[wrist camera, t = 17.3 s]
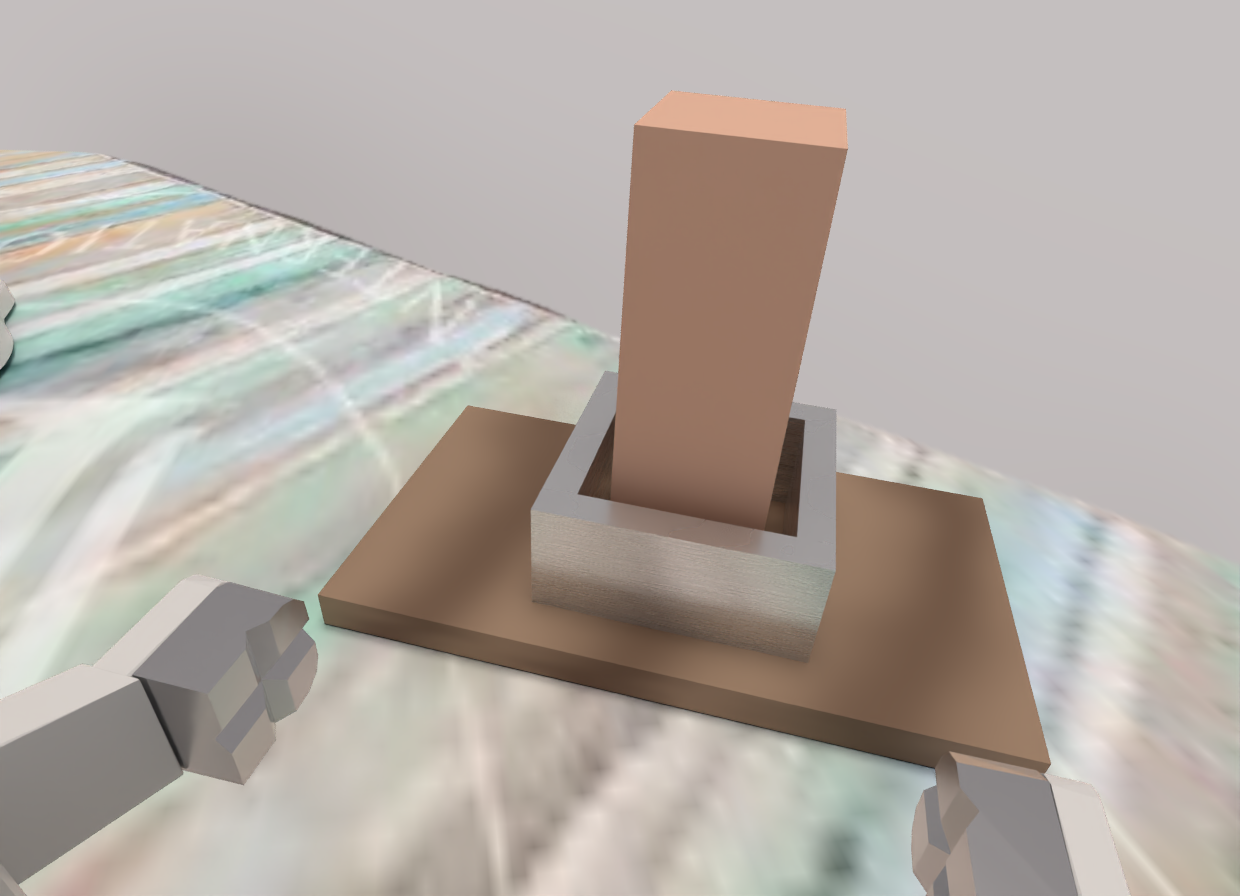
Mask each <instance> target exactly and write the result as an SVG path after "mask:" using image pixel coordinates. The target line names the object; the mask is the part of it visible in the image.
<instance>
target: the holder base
mask: <svg viewBox="0 0 1240 896" xmlns="http://www.w3.org/2000/svg"><path fill="white" fill-rule="evenodd" d="M575 426H576V425H573V424H567V423H562V422H556V421H551V420H545V419H540V418H534V417H529V416H523V415H518V414H512V413H507V412H501V411H495V410H490V409H484V408H479V407H473V406H467V407H466V408H465V410H464V411H463V412H462V413H461V415H460V416H459V417H458V418H457V420H456V421H455V422H454V423H453V425H452V426H451V427H450V429H449V430H448V431H447V432H446V434H445V435H444V436H443V437H442V439H441V440H440V441H439V442H438V444H437V445H436V446H435V447H434V449H433V450H432V451H431V453H430V454H429V455H428V456H427V458H426V459H425V460H424V461H423V463H422V464H421V465H420V466H419V468H418V469H417V470H416V471H415V473H414V474H413V475H412V476H411V478H410V479H409V480H408V482H407V483H406V484H405V485H404V487H403V488H402V489H401V490H400V492H399V493H398V494H397V495H396V497H395V498H394V499H393V500H392V502H391V503H390V504H389V506H388V507H387V508H386V509H385V511H384V512H383V513H382V514H381V516H380V517H379V518H378V519H377V521H376V522H375V523H374V524H373V526H372V527H371V528H370V530H369V531H368V532H367V533H366V535H365V536H364V537H363V538H362V540H361V541H360V542H359V543H358V545H357V546H356V547H355V548H354V550H353V551H352V552H351V554H350V555H349V556H348V557H347V559H346V560H345V561H344V562H343V564H342V565H341V566H340V567H339V569H338V570H337V571H336V572H335V574H334V575H333V576H332V577H331V579H330V580H329V581H328V583H327V584H326V585H325V586H324V588H323V589H322V590H321V591H320V593H319V594H318V598H319V602H320V606H321V610H322V615H323V619H324V623H325V624H329V625H334V626H338V627H342V628H346V629H351V630H355V631H359V632H363V633H367V634H372V635H376V636H380V637H384V638H389V639H393V640H397V641H401V642H405V643H410V644H414V645H418V646H422V647H426V648H431V649H435V650H439V651H443V652H448V653H452V654H456V655H460V656H464V657H469V658H473V659H477V660H481V661H485V662H490V663H494V664H498V665H502V666H507V667H511V668H515V669H519V670H523V671H528V672H532V673H536V674H540V675H545V676H549V677H553V678H557V679H561V680H566V681H570V682H574V683H578V684H582V685H587V686H591V687H595V688H599V689H604V690H608V691H612V692H616V693H620V694H625V695H629V696H633V697H637V698H641V699H646V700H650V701H654V702H658V703H663V704H667V705H671V706H675V707H679V708H684V709H688V710H692V711H696V712H701V713H705V714H709V715H713V716H717V717H722V718H726V719H730V720H734V721H738V722H743V723H747V724H751V725H755V726H760V727H764V728H768V729H772V730H776V731H781V732H785V733H789V734H793V735H797V736H802V737H806V738H810V739H814V740H819V741H823V742H827V743H831V744H835V745H840V746H844V747H848V748H852V749H856V750H861V751H865V752H869V753H873V754H878V755H882V756H886V757H890V758H894V759H899V760H903V761H907V762H911V763H916V764H920V765H924V766H928V767H932V768H935V767H936V765H937V764H938V762H939V760H940V758H941V756H942V755H943V754H945V753H947V752H948V751H951V752H955V753H960V754H964V755H969V756H973V757H978V758H983V759H987V760H992V761H996V762H1001V763H1005V764H1010V765H1014V766H1019V767H1023V768H1028V769H1033V770H1037V771H1038V772H1039V773H1044V774H1045V773H1046V771H1047V770H1048V768H1049V766H1050V765H1051V762H1050V758H1049V754H1048V751H1047V747H1046V743H1045V739H1044V735H1043V731H1042V727H1041V723H1040V720H1039V716H1038V712H1037V708H1036V704H1035V700H1034V696H1033V692H1032V689H1031V685H1030V681H1029V677H1028V673H1027V669H1026V665H1025V661H1024V658H1023V654H1022V650H1021V646H1020V642H1019V638H1018V634H1017V630H1016V627H1015V623H1014V619H1013V615H1012V611H1011V607H1010V603H1009V599H1008V596H1007V592H1006V588H1005V584H1004V580H1003V576H1002V572H1001V568H1000V565H999V561H998V557H997V553H996V549H995V545H994V541H993V537H992V534H991V530H990V526H989V522H988V518H987V514H986V510H985V506H984V503H983V499H982V498H977V497H972V496H966V495H961V494H955V493H949V492H944V491H938V490H933V489H927V488H922V487H916V486H911V485H905V484H900V483H894V482H889V481H883V480H877V479H872V478H866V477H861V476H855V475H850V474H844V473H839V472H836V572H835V575H834V578H833V582H832V585H831V588H830V592H829V595H828V598H827V601H826V605H825V608H824V611H823V615H822V618H821V621H820V625H819V628H818V631H817V635H816V638H815V641H814V644H813V648H812V651H811V654H810V658H809V661H808V663H806V662H801V661H797V660H792V659H788V658H783V657H778V656H774V655H769V654H765V653H760V652H756V651H751V650H747V649H742V648H738V647H733V646H729V645H724V644H720V643H715V642H711V641H706V640H702V639H697V638H693V637H688V636H684V635H679V634H675V633H670V632H666V631H661V630H657V629H652V628H648V627H643V626H639V625H634V624H630V623H625V622H621V621H616V620H611V619H607V618H602V617H598V616H593V615H589V614H584V613H580V612H575V611H571V610H566V609H562V608H557V607H553V606H548V605H544V604H539V603H535V602H532V567H531V508H532V506H533V504H534V502H535V501H536V499H537V497H538V495H539V493H540V491H541V489H542V488H543V486H544V484H545V482H546V480H547V478H548V476H549V475H550V473H551V471H552V469H553V467H554V465H555V463H556V462H557V460H558V458H559V456H560V454H561V452H562V450H563V449H564V447H565V445H566V443H567V441H568V439H569V437H570V436H571V434H572V432H573V430H574V428H575ZM609 501H610V499H609ZM785 504H786V503H781V502H776V501H771V502H770V506H769V511H768V515H767V520H766V524H765V529H764V531H767V532H773V533H778V534H783V526H784V515H785Z"/></svg>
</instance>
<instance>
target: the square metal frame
mask: <svg viewBox="0 0 1240 896" xmlns="http://www.w3.org/2000/svg"><path fill="white" fill-rule="evenodd" d="M617 387H618V373H615V372H609V371H605V372H604V374H603V376H602V378H601V380H600V382H599V383H598V385H597V387H596V389H595V391H594V393H593V395H592V396H591V398H590V400H589V402H588V404H587V406H586V408H585V409H584V411H583V413H582V415H581V417H580V419H579V421H578V422H577V424H576V426H575V428H574V430H573V432H572V434H571V436H570V437H569V439H568V441H567V443H566V445H565V447H564V449H563V450H562V452H561V454H560V456H559V458H558V460H557V462H556V463H555V465H554V467H553V469H552V471H551V473H550V475H549V476H548V478H547V480H546V482H545V484H544V486H543V488H542V489H541V491H540V493H539V495H538V497H537V499H536V501H535V502H534V504H533V506H532V508H531V567H532V602H535V603H539V604H544V605H548V606H553V607H557V608H562V609H566V610H571V611H575V612H580V613H584V614H589V615H593V616H598V617H602V618H607V619H611V620H616V621H621V622H625V623H630V624H634V625H639V626H643V627H648V628H652V629H657V630H661V631H666V632H670V633H675V634H679V635H684V636H688V637H693V638H697V639H702V640H706V641H711V642H715V643H720V644H724V645H729V646H733V647H738V648H742V649H747V650H751V651H756V652H760V653H765V654H769V655H774V656H778V657H783V658H788V659H792V660H797V661H801V662H806V663H808V661H809V658H810V654H811V651H812V648H813V644H814V641H815V638H816V635H817V631H818V628H819V625H820V621H821V618H822V615H823V611H824V608H825V605H826V601H827V598H828V595H829V592H830V588H831V585H832V582H833V578H834V575H835V572H836V410H835V409H829V408H823V407H817V406H811V405H806V404H800V403H794V402H792V406H791V410H790V415H789V419H788V424H787V429H786V433H785V438H784V442H783V447H782V451H781V456H780V461H779V465H778V470H777V474H776V479H775V483H774V488H773V493H772V497H771V501H776V502H781V503H786V504H785V515H784V526H783V534H778V533H773V532H767V531H762V530H757V529H752V528H747V527H742V526H737V525H732V524H727V523H721V522H716V521H711V520H706V519H701V518H696V517H691V516H686V515H681V514H676V513H670V512H665V511H660V510H655V509H650V508H645V507H640V506H635V505H630V504H624V503H619V502H614V501H609V499H610V496H611V481H612V465H613V449H614V434H615V418H616V402H617Z"/></svg>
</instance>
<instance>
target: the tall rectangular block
mask: <svg viewBox="0 0 1240 896" xmlns="http://www.w3.org/2000/svg"><path fill="white" fill-rule="evenodd" d="M847 150H848V144H847V123H846V109H841V108H832V107H823V106H812V105H803V104H794V103H784V102H775V101H765V100H756V99H746V98H736V97H727V96H718V95H708V94H698V93H689V92H680V91H670V92H669V93H668V94H667V95H666V96H665V97H664V98H663V99H662V100H661V101H660V102H658V103H657V104H656V105H655V106H654V107H653V108H652V109H651V110H650V111H649V112H648V113H647V114H645V115H644V116H643V117H642V118H641V119H640V120H639V121H638V122H637V123H636V124H635V125H634V138H633V153H632V168H631V183H630V184H631V185H630V199H629V214H628V230H627V246H626V262H625V277H624V278H625V279H624V293H623V308H622V325H621V340H620V355H619V371H618V387H617V402H616V418H615V434H614V449H613V465H612V481H611V496H610V501H614V502H619V503H624V504H630V505H635V506H640V507H645V508H650V509H655V510H660V511H665V512H670V513H676V514H681V515H686V516H691V517H696V518H701V519H706V520H711V521H716V522H721V523H727V524H732V525H737V526H742V527H747V528H752V529H757V530H762V531H764V529H765V524H766V520H767V515H768V511H769V506H770V502H771V497H772V493H773V488H774V483H775V479H776V474H777V470H778V465H779V461H780V456H781V451H782V447H783V442H784V438H785V433H786V429H787V424H788V419H789V415H790V410H791V406H792V401H793V397H794V392H795V387H796V383H797V378H798V374H799V369H800V365H801V360H802V355H803V351H804V346H805V342H806V337H807V332H808V328H809V323H810V319H811V314H812V310H813V305H814V301H815V296H816V291H817V287H818V282H819V277H820V273H821V269H822V264H823V259H824V255H825V250H826V246H827V241H828V237H829V232H830V228H831V223H832V218H833V214H834V209H835V205H836V200H837V195H838V191H839V186H840V182H841V177H842V173H843V168H844V163H845V159H846V154H847Z"/></svg>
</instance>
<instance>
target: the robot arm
mask: <svg viewBox="0 0 1240 896" xmlns="http://www.w3.org/2000/svg"><path fill="white" fill-rule="evenodd" d="M14 302H15V299H14V297H13V295H12V294H11V292H10V290H9V288H8V287H7V285H6V283H5V282H4V281H2V280H0V369H1V368H2V367H3V366H4V365H5V363H6V362H7V360H8V359H9V357H10V355H11V353H12V349H13V338H12V335H11V333H10V332H9V330H8V329H7V327H6V325H5V322H4V318H5V317H6V316H7V314H8V313H9V311H10V310H11V308H12V307H13V305H14ZM308 620H309V617H308V613H307V610H306V607H305V604H304V601H300V600H296V599H292V598H289V597H285V596H281V595H277V594H273V593H269V592H266V591H262V590H258V589H254V588H250V587H246V586H243V585H239V584H235V583H232V582H228V581H223V580H219V579H215V578H211V577H207V576H203V575H199V574H194V575H192V576H190V577H187V578H185V579H183V580H181V581H180V582H179V583H178V584H177V585H176V586H175V587H174V588H173V589H172V590H171V591H170V592H168V593H167V594H166V595H165V596H164V597H163V598H162V599H161V600H160V601H159V602H158V603H157V604H156V605H155V606H154V607H153V608H152V609H151V610H150V611H149V612H148V613H147V614H146V615H145V616H144V617H143V618H142V619H141V620H139V621H138V622H137V623H136V624H135V625H134V626H133V627H132V628H131V629H130V630H129V631H128V632H127V633H126V634H125V635H124V636H123V637H122V638H121V639H120V640H119V641H118V642H117V643H116V644H115V645H114V646H113V647H112V648H110V649H109V650H108V651H107V652H106V653H105V654H104V655H103V656H102V657H101V658H100V659H99V660H98V661H97V662H96V663H95V664H94V665H93V666H90V665H85V664H80V665H78V666H76V667H73V668H71V669H69V670H67V671H64V672H62V673H60V674H57V675H55V676H53V677H51V678H48V679H46V680H44V681H41V682H39V683H37V684H35V685H32V686H30V687H28V688H25V689H23V690H21V691H19V692H16V693H14V694H12V695H9V696H7V697H5V698H3V699H0V896H27V895H26V894H25V893H24V892H23V890H22V889H21V888H20V887H19V884H20V883H22V882H23V881H25V880H26V879H28V878H29V877H31V876H32V875H34V874H35V873H37V872H38V871H40V870H41V869H43V868H44V867H46V866H47V865H49V864H50V863H52V862H53V861H55V860H56V859H58V858H59V857H61V856H62V855H64V854H65V853H67V852H68V851H70V850H71V849H73V848H74V847H76V846H77V845H79V844H80V843H82V842H83V841H85V840H86V839H88V838H89V837H90V836H92V835H93V834H95V833H96V832H98V831H99V830H101V829H102V828H104V827H105V826H107V825H108V824H110V823H111V822H113V821H114V820H116V819H117V818H119V817H120V816H122V815H123V814H125V813H126V812H128V811H129V810H131V809H132V808H134V807H135V806H137V805H138V804H140V803H141V802H143V801H144V800H146V799H147V798H149V797H150V796H152V795H153V794H155V793H156V792H158V791H159V790H161V789H162V788H164V787H165V786H167V785H168V784H170V783H171V782H173V781H174V780H176V779H177V778H179V777H180V776H182V775H183V771H182V770H185V771H189V772H193V773H197V774H201V775H205V776H209V777H213V778H217V779H221V780H225V781H229V782H233V783H237V784H241V785H244V784H245V783H246V781H247V780H248V779H249V777H250V776H251V774H252V773H253V772H254V770H255V769H256V767H257V766H258V765H259V763H260V762H261V760H262V759H263V758H264V756H265V755H266V753H267V752H268V750H269V749H270V748H271V746H272V745H273V743H274V742H275V741H276V725H275V723H276V722H278V721H279V720H281V719H283V718H285V717H287V716H288V715H290V714H292V713H294V712H295V711H297V709H298V708H299V706H300V705H301V703H302V702H303V700H304V699H305V697H306V696H307V694H308V693H309V691H310V688H311V685H312V683H313V680H314V677H315V675H316V672H317V662H318V653H317V648H316V644H315V641H314V640H313V639H312V638H311V637H310V636H309V635H308V634H307V633H306V632H305V631H304V630H303V629H302V628H303V627H304V625H305V624H306V623H307V621H308ZM935 773H936V783H937V785H936V786H933V787H931V788H929V789H926V790H924V791H923V793H922V795H921V798H920V800H919V802H918V804H917V807H916V810H915V816H914V821H913V826H912V843H911V852H912V867H913V873H914V874H915V876H916V877H917V879H918V880H919V882H920V883H921V885H922V886H923V888H924V889H925V891H926V892H927V894H926V896H1131V894H1130V891H1129V888H1128V884H1127V881H1126V878H1125V875H1124V872H1123V869H1122V865H1121V862H1120V859H1119V856H1118V853H1117V850H1116V846H1115V843H1114V840H1113V837H1112V834H1111V830H1110V827H1109V824H1108V821H1107V818H1106V815H1105V811H1104V808H1103V805H1102V802H1101V799H1100V796H1099V794H1098V793H1097V791H1096V790H1095V789H1094V787H1093V786H1092V785H1091V784H1087V783H1084V782H1080V781H1076V780H1071V779H1067V778H1062V777H1058V776H1053V775H1049V774H1044V773H1039V772H1038V771H1037V770H1033V769H1028V768H1023V767H1019V766H1014V765H1010V764H1005V763H1001V762H996V761H992V760H987V759H983V758H978V757H973V756H969V755H964V754H960V753H955V752H951V751H948V752H947V753H945V754H943V755H942V756H941V758H940V760H939V762H938V764H937V765H936V767H935Z"/></svg>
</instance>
